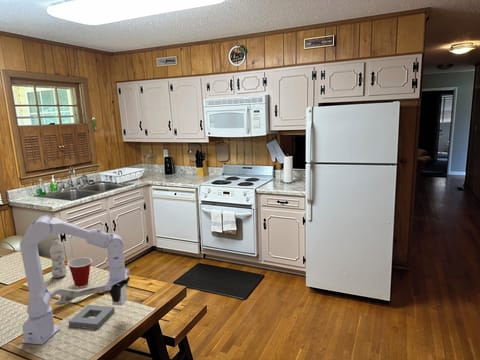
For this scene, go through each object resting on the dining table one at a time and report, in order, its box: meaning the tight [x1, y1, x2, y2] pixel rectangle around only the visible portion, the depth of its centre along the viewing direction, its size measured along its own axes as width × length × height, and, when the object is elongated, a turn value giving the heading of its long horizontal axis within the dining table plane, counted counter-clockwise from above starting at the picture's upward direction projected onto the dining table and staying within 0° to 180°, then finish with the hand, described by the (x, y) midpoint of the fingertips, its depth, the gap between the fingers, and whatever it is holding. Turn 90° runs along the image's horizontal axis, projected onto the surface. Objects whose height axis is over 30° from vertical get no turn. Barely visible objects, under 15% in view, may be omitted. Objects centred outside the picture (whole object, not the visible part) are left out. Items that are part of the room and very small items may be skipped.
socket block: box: [68, 304, 115, 330], centre depth 130 cm, size 12×12×2 cm
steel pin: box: [111, 283, 128, 307], centre depth 128 cm, size 4×4×7 cm
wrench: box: [50, 283, 109, 306], centre depth 146 cm, size 8×2×30 cm
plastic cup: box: [66, 257, 93, 288], centre depth 158 cm, size 11×11×12 cm
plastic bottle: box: [49, 237, 67, 279], centre depth 166 cm, size 6×7×20 cm
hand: (119, 298), depth 128 cm, fingers closed on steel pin, 4 cm apart
